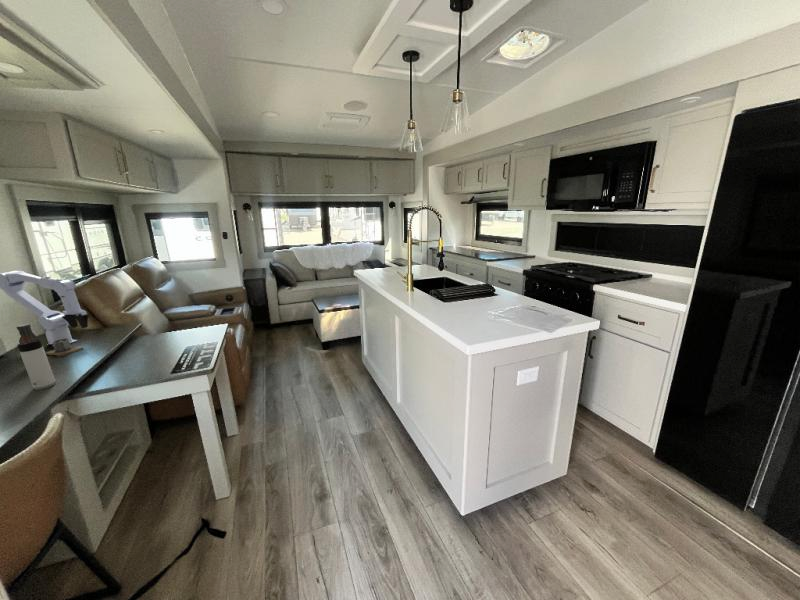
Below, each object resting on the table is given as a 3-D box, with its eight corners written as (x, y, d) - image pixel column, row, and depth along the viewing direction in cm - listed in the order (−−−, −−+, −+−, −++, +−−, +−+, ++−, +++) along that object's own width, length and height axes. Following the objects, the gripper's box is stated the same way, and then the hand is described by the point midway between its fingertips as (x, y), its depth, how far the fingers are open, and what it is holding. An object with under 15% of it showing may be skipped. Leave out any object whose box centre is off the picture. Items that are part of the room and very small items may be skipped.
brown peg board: (44, 354, 160) (40, 343, 159) (65, 347, 169) (62, 336, 167) (62, 356, 158) (58, 345, 156) (83, 348, 166) (80, 338, 165)
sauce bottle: (51, 363, 151) (37, 323, 146) (33, 369, 146) (18, 328, 140) (43, 361, 154) (29, 322, 148) (25, 367, 148) (9, 326, 142)
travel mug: (36, 392, 127) (18, 345, 122) (32, 387, 131) (14, 342, 125) (58, 384, 132) (42, 339, 127) (53, 380, 136) (37, 336, 130)
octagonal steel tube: (52, 351, 161) (49, 342, 160) (65, 347, 166) (62, 338, 165) (61, 352, 160) (58, 343, 159) (74, 347, 165) (71, 338, 164)
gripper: (51, 305, 166) (61, 329, 170) (71, 305, 162) (80, 330, 166) (68, 301, 172) (77, 324, 176) (87, 301, 169) (96, 325, 173)
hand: (80, 327), depth 172 cm, fingers open, 7 cm apart
